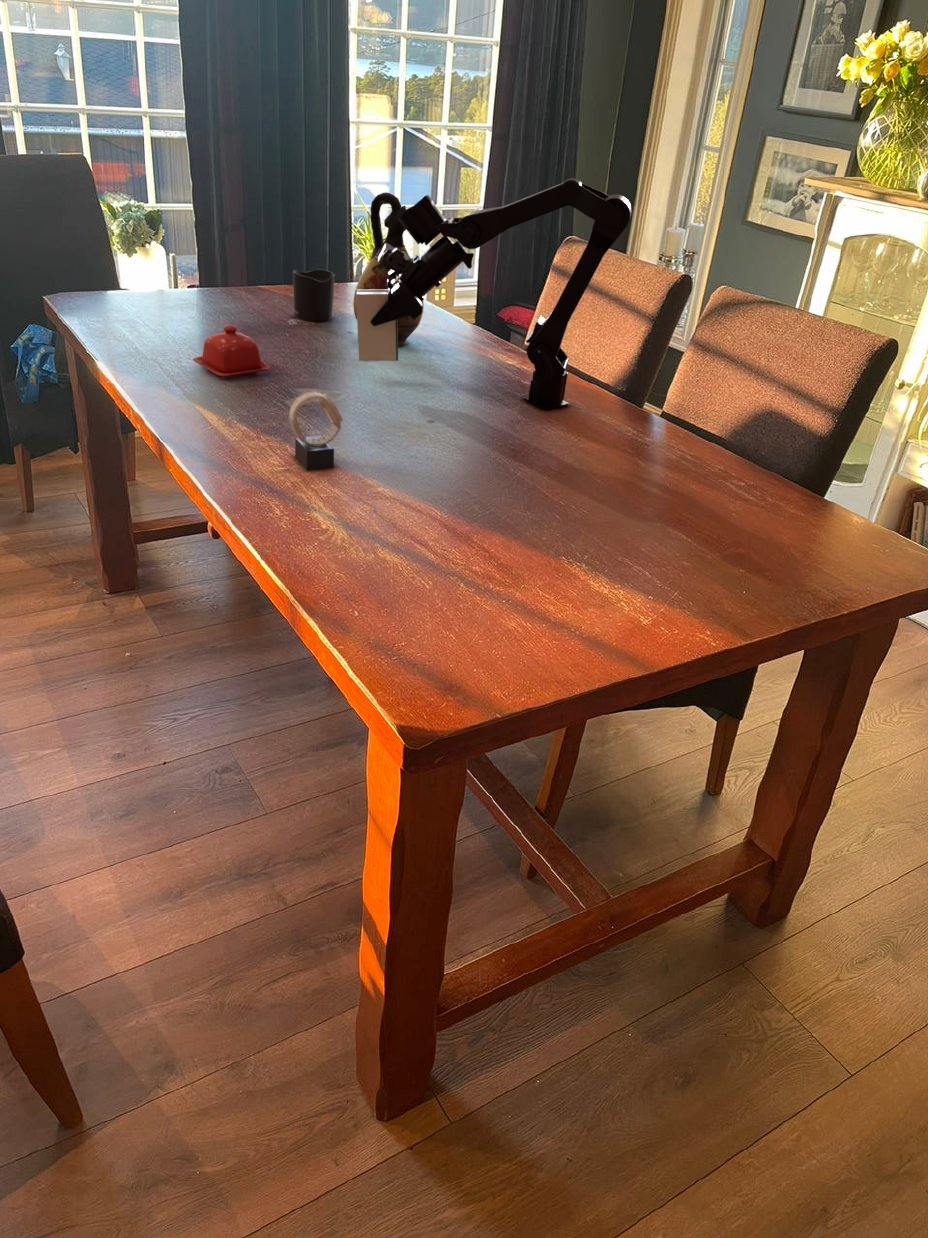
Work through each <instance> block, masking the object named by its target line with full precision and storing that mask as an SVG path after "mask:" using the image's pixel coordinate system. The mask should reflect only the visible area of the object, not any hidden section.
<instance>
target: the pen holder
mask: <svg viewBox="0 0 928 1238" xmlns="http://www.w3.org/2000/svg"><path fill="white" fill-rule="evenodd" d="M335 276H336V273H334V272H332V271H330V270H327V269H321V268H317V269H313V270H310V271H301V270H299V269H293V271H292V283H293V287H292V288H293V312H294V316H295V317H296V319H298V320H301V321H304V322H305V321H306V322H314V323H317V322H318V323H320V322H327V321H330V320H331V319H332V318H333V309H334V308H333V306H334V291H335Z"/></svg>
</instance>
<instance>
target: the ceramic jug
mask: <svg viewBox="0 0 928 1238" xmlns="http://www.w3.org/2000/svg"><path fill="white" fill-rule="evenodd" d="M383 205H389V206H390V209H391V212H390V213H389V214H388V215H387V216H386V217H385V219H384V221H383V226H384V227H386V228H387V234H386V236H385V239H384V236H383V235H384V234H383V231H382V222H381V221H382V220H381V214H380V212H381V208H382V206H383ZM409 208H410V207H407V208H406V205H403V206H402V203H401V201H400V199H399V198H398V197H397V196H396V195H394V194H392V193H390V192H387V191H386V192H381V193H379V194H377V195H376V196H375V197H374V198H373V200H372V201H371V204H370V216H369V217H370V224H371V231H372V232H371V233H372V238H373V242H374V243H373V244H374V245H373V246H374V248H373V249H372V253H371V256H370V259H369V262H368V264H367V265H366V266H365V268H364V269H363V272H362V273H361V275H360V277H359V279H358V282H357V284H356V287H355V291H354V296H353V303H352V304H353V314H354V317H355V319H356V320H357V305H356V294H357V290H387V279H389V280H390V281H393V280H394V278H393V277H390V276H389V273H388V272H389V271H390V270H391V269H390V268H388V267H384V266H382V265H381V264H380V263H378V257H379V255H380V253H381V251H382V249H383V247H384V245H385V243H387V244H389V245H391V246H392V247H394V248H398V249H399V250H400V251H403V252H404V254H406V255H407V256H409V257H410V258H411V256H410V255H409V252H408V250H407V248H406V245H405V243H404V236H403V235H404V233H405V231H407V230H406V228H405V227H404V226H403V225H402V223H401V222H400V221H399V220H398V219H399V218H400V217H401V216H402V215H403V214H404V213H405V212H406V211H407V210H408V209H409ZM421 303H422V314H421V315H420V316H418V317H417V318H416V319H415V320H413V319H412V318H411V316H410V317H404V318H401V319H397V327H398V348H399V347H404V345H406V344H407V340H408V338H409V337H410V336H411V335H412V334H413V333H414V332H415V330H416V329H417V328H418V327H419V325H420V323H421V321H422V318H423V314H424V309H425V308H424V300H423V301H422V302H421Z"/></svg>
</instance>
